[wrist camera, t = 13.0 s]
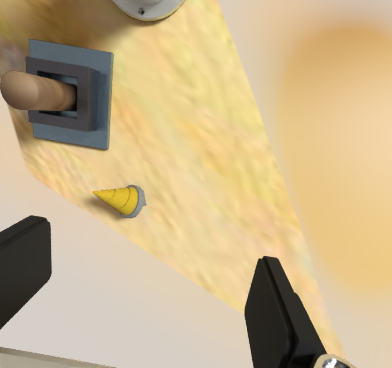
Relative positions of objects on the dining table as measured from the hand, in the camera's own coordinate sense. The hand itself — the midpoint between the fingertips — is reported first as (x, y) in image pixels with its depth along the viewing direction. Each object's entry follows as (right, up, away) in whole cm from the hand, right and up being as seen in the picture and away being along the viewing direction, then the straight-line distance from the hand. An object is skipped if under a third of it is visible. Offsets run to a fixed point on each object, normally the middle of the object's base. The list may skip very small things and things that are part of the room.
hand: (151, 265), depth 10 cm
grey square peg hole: (-17, +17, +26) cm, 35 cm away
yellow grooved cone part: (-10, +2, +30) cm, 31 cm away
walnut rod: (-17, +17, +25) cm, 34 cm away
